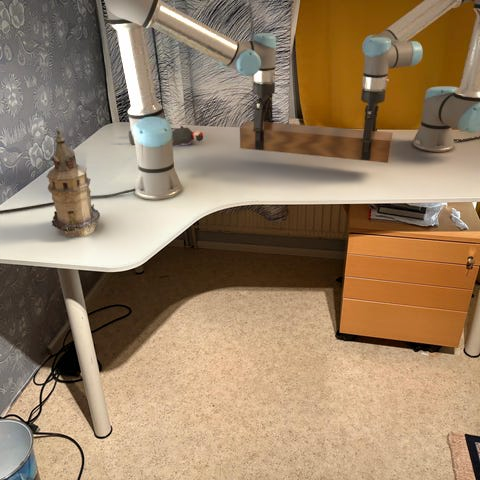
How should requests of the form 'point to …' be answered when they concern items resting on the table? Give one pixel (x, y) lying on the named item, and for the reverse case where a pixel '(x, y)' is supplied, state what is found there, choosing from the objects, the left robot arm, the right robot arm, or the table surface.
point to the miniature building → (70, 193)
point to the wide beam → (317, 141)
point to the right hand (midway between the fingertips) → (367, 154)
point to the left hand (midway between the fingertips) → (263, 144)
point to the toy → (179, 136)
